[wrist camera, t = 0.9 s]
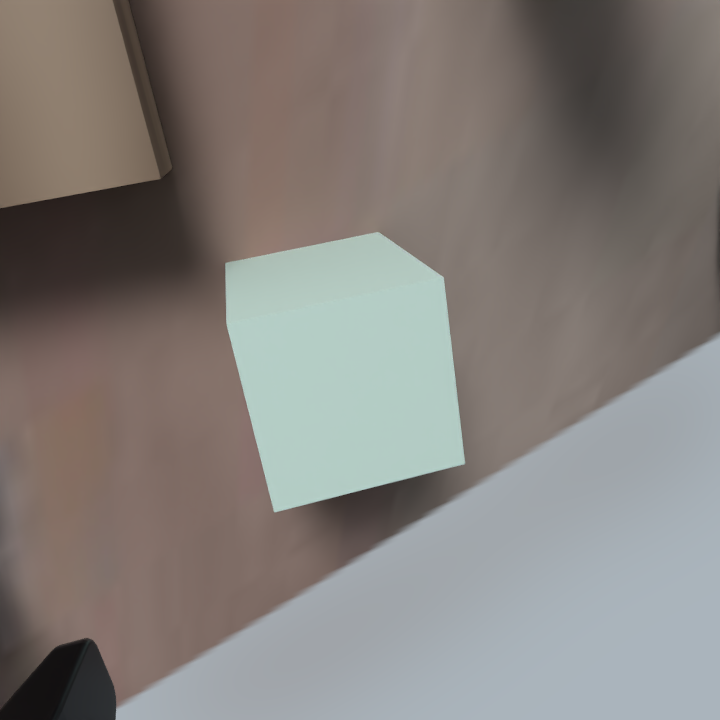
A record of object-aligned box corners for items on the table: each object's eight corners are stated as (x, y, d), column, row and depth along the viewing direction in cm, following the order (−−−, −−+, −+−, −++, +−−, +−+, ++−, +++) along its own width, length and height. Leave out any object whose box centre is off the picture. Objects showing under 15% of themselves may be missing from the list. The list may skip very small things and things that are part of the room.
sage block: (378, 232, 19) (443, 277, 13) (399, 371, 20) (465, 463, 15) (225, 262, 18) (226, 323, 13) (259, 403, 20) (274, 512, 14)
